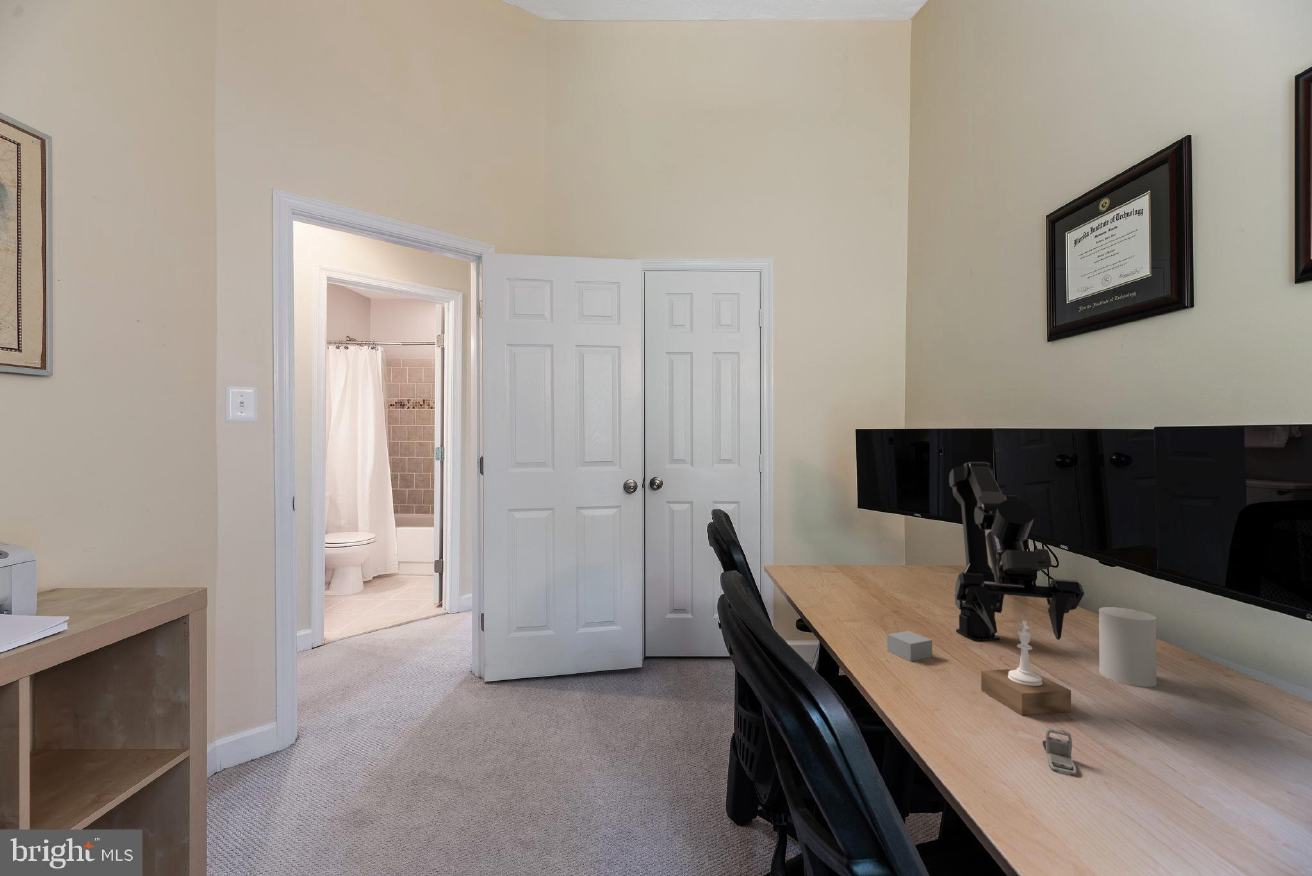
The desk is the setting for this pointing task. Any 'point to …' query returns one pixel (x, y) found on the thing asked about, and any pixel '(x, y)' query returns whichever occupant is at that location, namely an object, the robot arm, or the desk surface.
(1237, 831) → the desk surface
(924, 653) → the slate block
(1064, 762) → the grey sandwich maker
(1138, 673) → the white cylinder
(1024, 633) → the chess piece
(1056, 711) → the walnut block
